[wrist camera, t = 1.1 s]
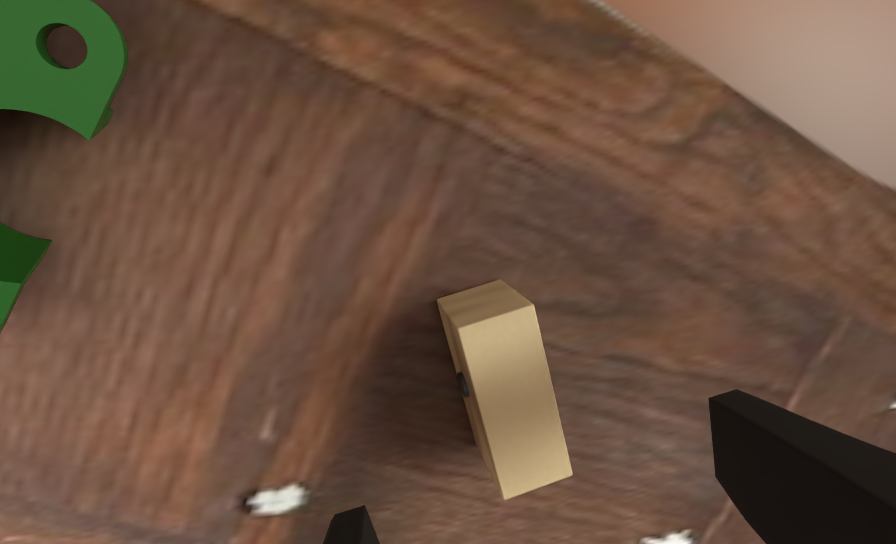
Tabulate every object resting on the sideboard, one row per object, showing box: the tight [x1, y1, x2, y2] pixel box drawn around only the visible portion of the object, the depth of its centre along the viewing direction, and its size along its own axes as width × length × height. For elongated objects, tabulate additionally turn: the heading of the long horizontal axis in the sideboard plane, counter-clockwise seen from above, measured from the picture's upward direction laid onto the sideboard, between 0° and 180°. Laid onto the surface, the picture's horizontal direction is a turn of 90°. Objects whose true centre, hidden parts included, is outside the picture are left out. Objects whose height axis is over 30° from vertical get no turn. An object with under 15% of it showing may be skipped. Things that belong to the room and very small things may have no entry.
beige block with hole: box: [437, 279, 573, 500], centre depth 23 cm, size 7×3×4 cm, turn 15°
